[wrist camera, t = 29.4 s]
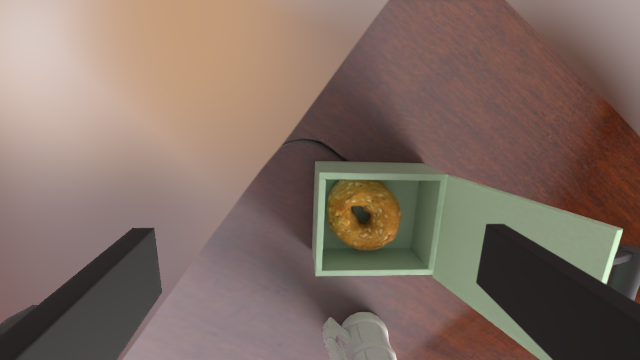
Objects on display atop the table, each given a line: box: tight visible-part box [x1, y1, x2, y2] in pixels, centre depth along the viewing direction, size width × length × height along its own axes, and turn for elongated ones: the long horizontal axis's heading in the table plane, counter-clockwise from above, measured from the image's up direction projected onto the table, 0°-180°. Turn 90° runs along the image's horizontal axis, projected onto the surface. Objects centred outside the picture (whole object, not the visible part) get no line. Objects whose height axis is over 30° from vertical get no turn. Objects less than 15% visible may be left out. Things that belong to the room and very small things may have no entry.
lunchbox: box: [312, 161, 448, 276], centre depth 41 cm, size 16×14×7 cm
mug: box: [322, 312, 397, 360], centre depth 44 cm, size 8×12×12 cm, turn 58°
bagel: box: [327, 179, 401, 251], centre depth 41 cm, size 10×11×5 cm
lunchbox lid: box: [432, 175, 640, 360], centre depth 33 cm, size 16×14×10 cm
